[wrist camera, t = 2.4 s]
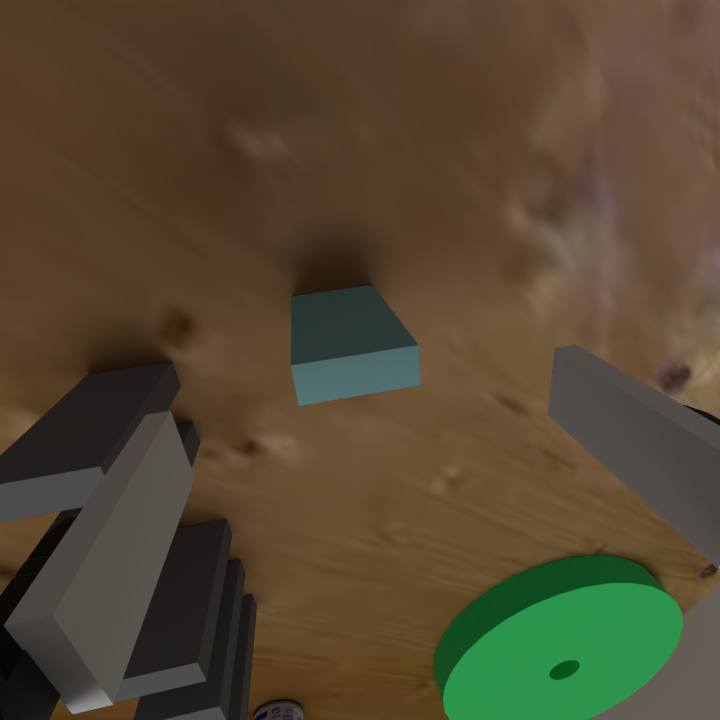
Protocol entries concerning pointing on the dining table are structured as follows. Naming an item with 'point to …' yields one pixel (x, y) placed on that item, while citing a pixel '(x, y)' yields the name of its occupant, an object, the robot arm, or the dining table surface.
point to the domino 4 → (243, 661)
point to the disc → (557, 642)
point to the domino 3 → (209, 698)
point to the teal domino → (349, 346)
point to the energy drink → (280, 711)
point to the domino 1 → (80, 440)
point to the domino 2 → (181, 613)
